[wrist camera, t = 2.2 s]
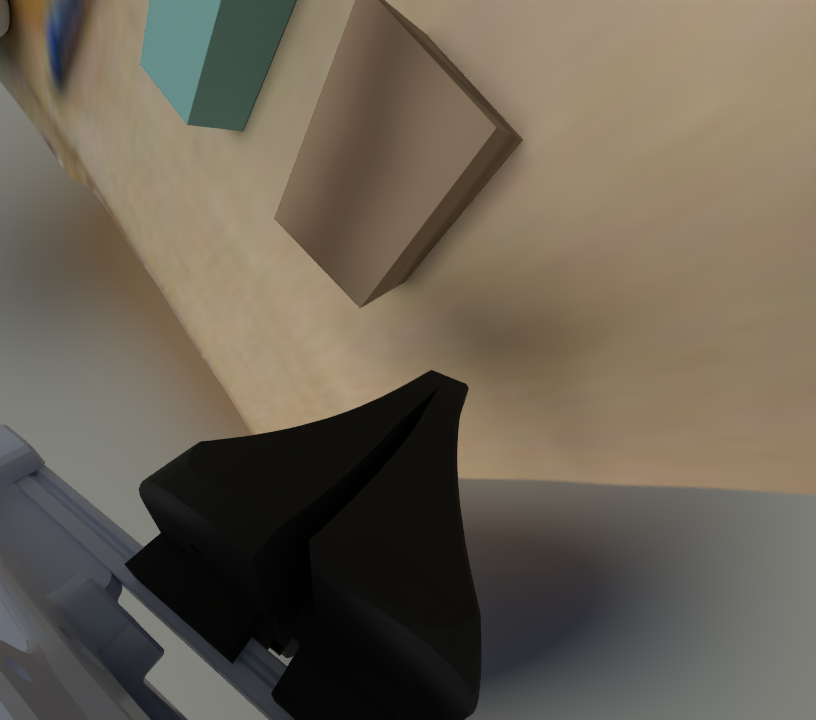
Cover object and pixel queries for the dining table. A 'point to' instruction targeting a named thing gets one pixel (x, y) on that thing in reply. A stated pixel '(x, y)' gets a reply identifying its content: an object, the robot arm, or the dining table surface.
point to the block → (388, 154)
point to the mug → (4, 17)
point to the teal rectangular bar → (212, 55)
